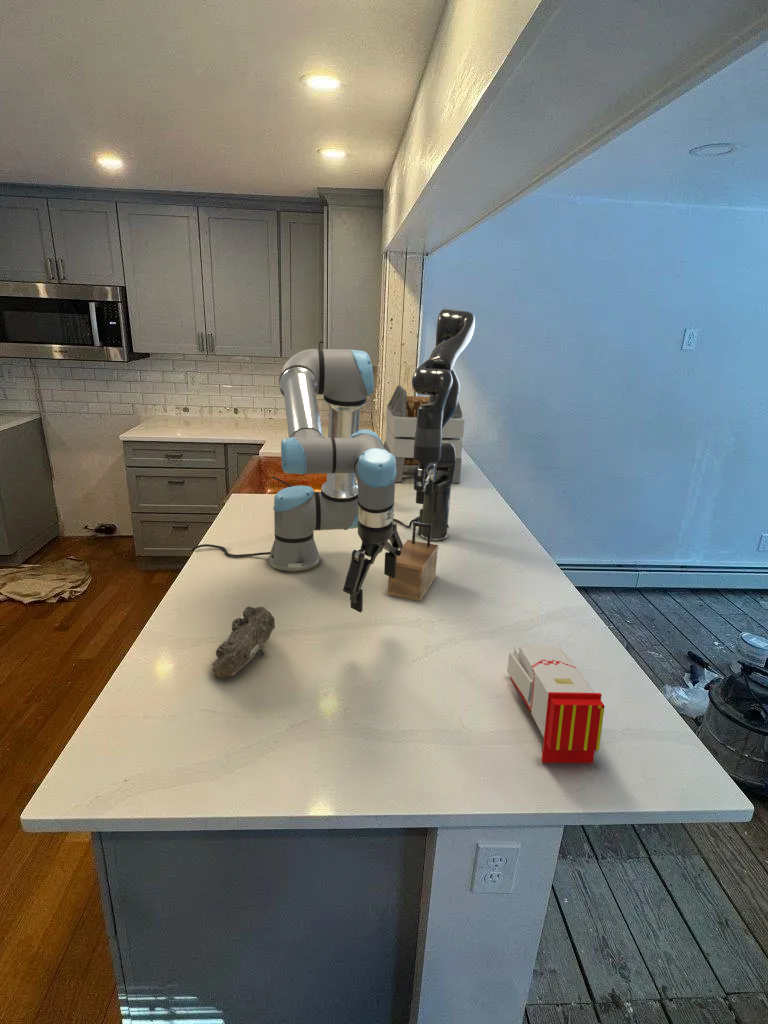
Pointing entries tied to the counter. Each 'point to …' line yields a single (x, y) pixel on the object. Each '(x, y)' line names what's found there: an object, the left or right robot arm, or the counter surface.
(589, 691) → the toy
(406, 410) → the transformer
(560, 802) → the counter surface
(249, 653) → the fossil
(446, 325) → the right robot arm
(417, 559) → the lid
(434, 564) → the chest
